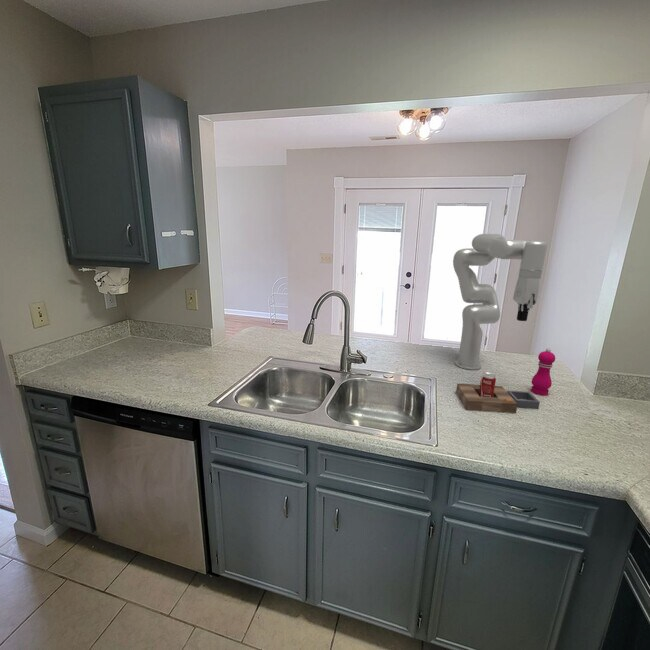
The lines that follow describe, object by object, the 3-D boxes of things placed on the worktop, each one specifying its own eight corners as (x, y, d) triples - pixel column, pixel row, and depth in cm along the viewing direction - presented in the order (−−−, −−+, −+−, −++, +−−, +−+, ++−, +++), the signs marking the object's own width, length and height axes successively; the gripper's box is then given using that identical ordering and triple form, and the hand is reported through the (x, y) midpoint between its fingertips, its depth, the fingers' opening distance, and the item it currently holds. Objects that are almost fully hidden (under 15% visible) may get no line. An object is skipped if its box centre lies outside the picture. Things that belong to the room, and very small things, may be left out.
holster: (506, 397, 140) (507, 390, 139) (527, 398, 139) (529, 391, 139) (515, 407, 132) (516, 400, 131) (538, 408, 131) (539, 401, 130)
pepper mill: (525, 389, 147) (534, 346, 142) (537, 387, 150) (546, 344, 144) (541, 397, 141) (550, 352, 135) (553, 394, 143) (563, 350, 138)
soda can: (479, 397, 139) (483, 370, 136) (493, 401, 136) (497, 374, 133) (475, 402, 135) (480, 375, 132) (489, 406, 132) (494, 378, 129)
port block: (456, 392, 144) (457, 382, 143) (500, 394, 142) (501, 385, 141) (466, 409, 129) (468, 399, 128) (515, 413, 128) (517, 403, 127)
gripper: (511, 271, 137) (504, 315, 142) (528, 276, 123) (520, 325, 128) (530, 272, 137) (522, 316, 142) (550, 277, 122) (540, 325, 127)
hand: (521, 320), depth 135 cm, fingers closed
